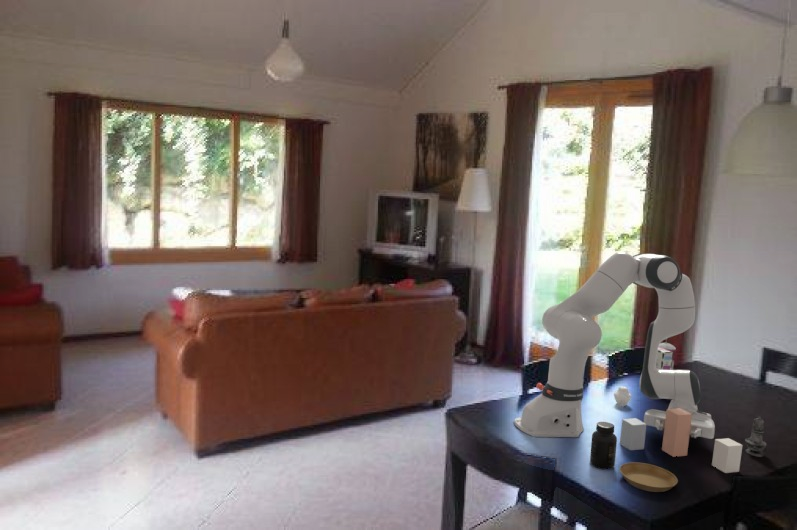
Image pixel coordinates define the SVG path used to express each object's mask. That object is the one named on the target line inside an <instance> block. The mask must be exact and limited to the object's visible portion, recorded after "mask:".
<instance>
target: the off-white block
mask: <svg viewBox="0 0 797 530" xmlns="http://www.w3.org/2000/svg"><path fill="white" fill-rule="evenodd" d="M743 446H744V445H743V444H741V443H740V442H737V441H735V440H734V439H731V438H729V437H727V438H715V439H714V446H713V453H712V462H711V466H713V467H714V468H715V467H716V469H717V470H719V471H720V472H723V473H725V474H729V473H738V472H740V467H741V459H742V458H741V457H742V453H743V451H742V450H743Z"/></svg>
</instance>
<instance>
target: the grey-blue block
mask: <svg viewBox="0 0 797 530" xmlns="http://www.w3.org/2000/svg"><path fill="white" fill-rule="evenodd" d="M647 426H648V425H647V424H645V423H644V421H642V420H640V419H638V418H637V417H633V418H622V420H621V429H620V436H619V445H621V446H623V447H624V448H626V449H627V450H629V451H635V450H636V451H637V450H638V451H639V450H644V448H645V442H646V441H645V440H646V434H647V433H646V432H647Z"/></svg>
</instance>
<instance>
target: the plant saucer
mask: <svg viewBox="0 0 797 530" xmlns="http://www.w3.org/2000/svg"><path fill="white" fill-rule="evenodd" d="M619 472H620V474H621V475H622V477H623V479H625V480H626V482H627V483H628V484H630V485H631V486H633V487H634V488H637V489H639V490H642V491H645V492H652V493H663V492H667V491H669V490H671V489H673V487H675V486H676V485H677V484H678V482H679V480H678V478H677V476H676V475H675V473H672V472H671V471H669V470H668V469H665V468H663V467H660V466H657V465H654V464H650V463H645V462H626V463H623V464H621V465H620V467H619Z"/></svg>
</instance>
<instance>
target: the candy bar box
mask: <svg viewBox="0 0 797 530" xmlns="http://www.w3.org/2000/svg"><path fill="white" fill-rule="evenodd" d="M645 347H646V345H645ZM643 355H645V353H644V354H643ZM673 357H674V351H672V350H666V349H663V348H660V347H658V354H657V362H656V368H657V369H662V370H671V366H672V360H673V359H674V358H673ZM672 358H673V359H672Z"/></svg>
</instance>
